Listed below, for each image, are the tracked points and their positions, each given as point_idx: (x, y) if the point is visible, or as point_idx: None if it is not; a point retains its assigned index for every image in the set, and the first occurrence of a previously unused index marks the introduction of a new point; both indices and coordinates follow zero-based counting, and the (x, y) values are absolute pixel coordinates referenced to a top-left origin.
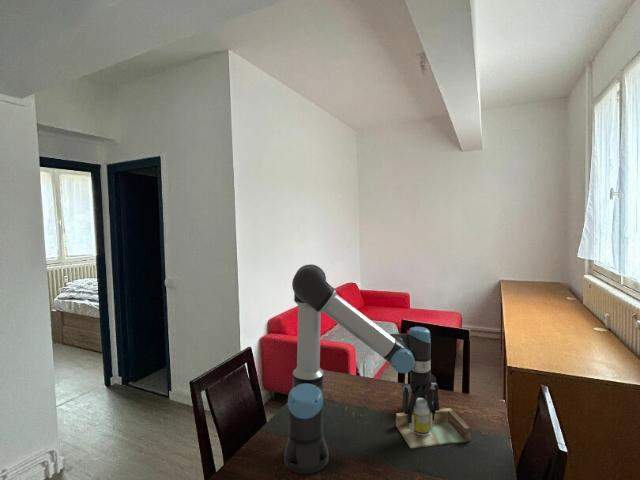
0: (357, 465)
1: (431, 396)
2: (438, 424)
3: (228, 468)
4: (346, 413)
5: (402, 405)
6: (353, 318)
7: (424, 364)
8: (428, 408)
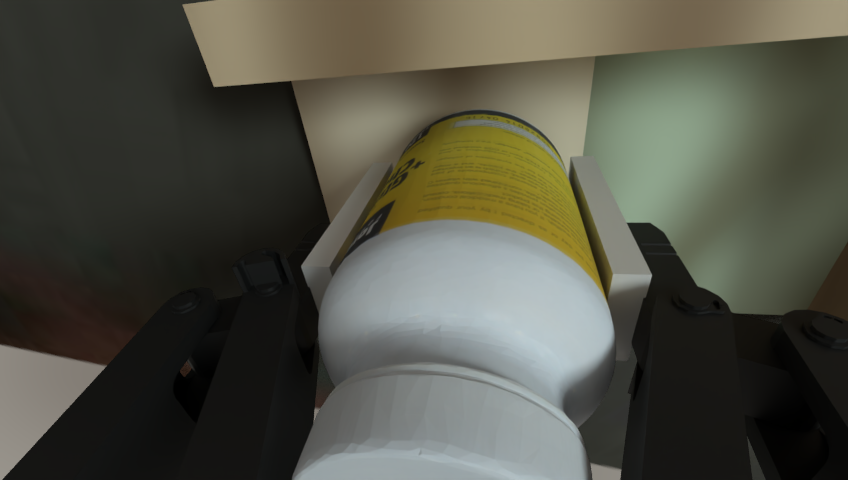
0: (102, 334)
1: None
2: (778, 51)
3: None
4: None
5: (120, 363)
6: None
7: None
8: (584, 421)
